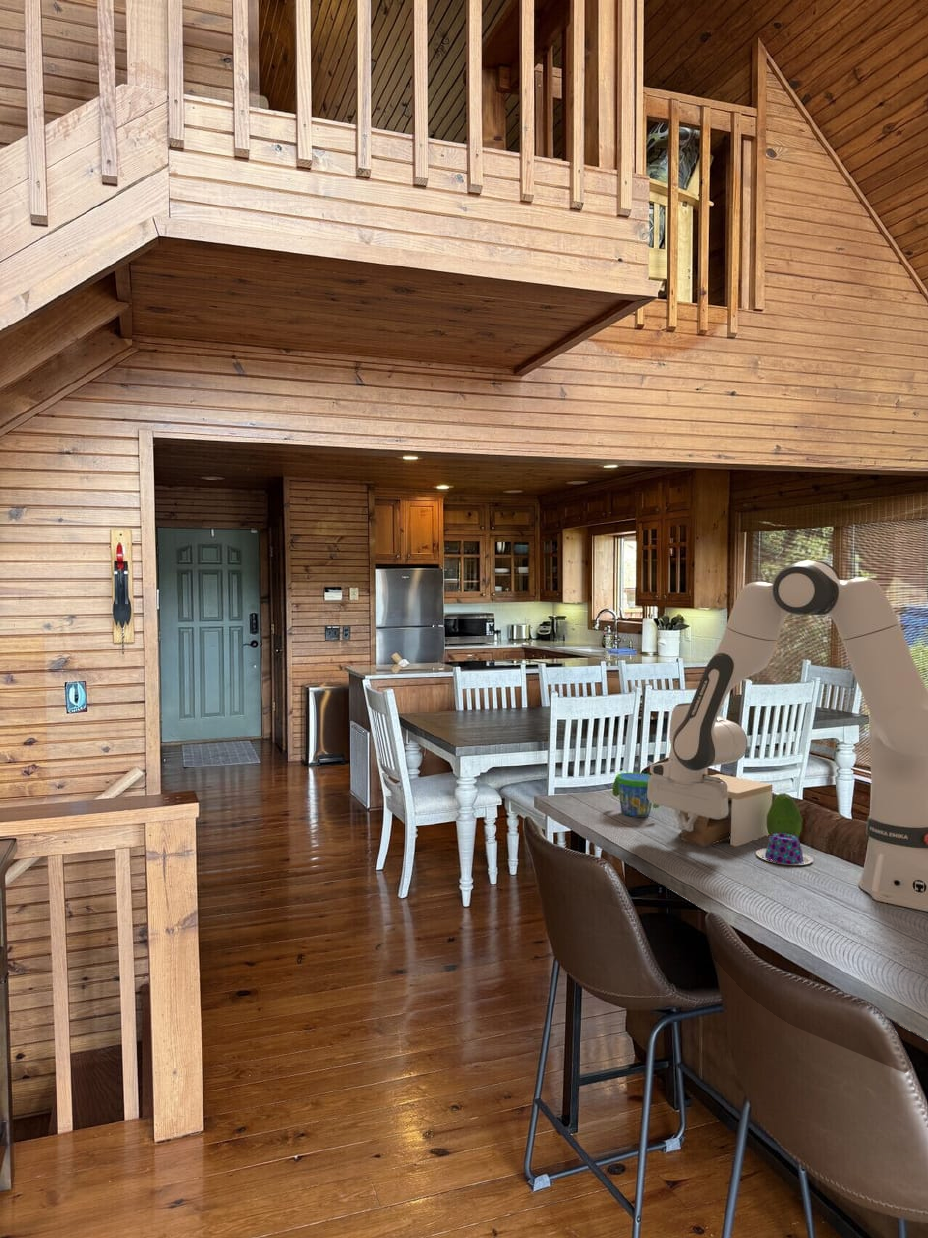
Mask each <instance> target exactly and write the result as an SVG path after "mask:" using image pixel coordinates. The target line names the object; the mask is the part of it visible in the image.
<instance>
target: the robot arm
mask: <svg viewBox="0 0 928 1238" xmlns="http://www.w3.org/2000/svg"><path fill="white" fill-rule="evenodd" d="M790 615H795V616H801V617H802V616H826V615H827V616H829V617H830V618H831V619H832V621H833V623H834V624H835V627H836V630H837V632H838V634H839V637H840V640H841V643H842V646H843V648H844V651H845V654H846V657H847V659H848V660H847V661H848V662H849V665H850V667H851V668H850V669H851V670H852V673H853V675H854V678H855V680H856V683H857V685H858V687H859V689H860V691H861V695H862V696H863V698H864V699H863V700H865V703H866V704H865V705H866V706H867V708H868V711H869V725H868V727H869V729H868V730H869V731H868V732H869V757H870V760H869V762H870V763H869V764H870V804H869V805H870V806H869V815H868V816H867V823H866V829H865V831H866V835H865V836H866V843H867V849H866V854H865V855H866V856H865V861H864V865H863V869H862V871H861V872H862V873H861V876H860V879H859V881H858V887H859V888H860V889H862V890H863V891H864V892H867V893H868V894H869V895H870V896H871V897H872V899H873V900H875V901H878V902H881V903H882V902H883V903H886V904H887V903H888V904H891V905H895V906H900V907H905V908H909V909H914V910H919V911H923V912H927V913H928V688H927V687H926V685H925V682H924V680H923V678H922V676H921V674H920V672H919V670H918V668H917V665H916V664H915V661H914V659H913V657H912V653H911V651H910V649H909V646H908V644H907V641H906V638H905V635H904V633H903V629H902V627H901V625H900V622H899V619H898V617H897V615H896V612H895V610H894V608H893V606H892V604H891V602H890V600H889V599H888V597H887V595H886V594H885V592H884V590H883V588H882V586H881V585H880V584H879V583H878V582H877V581H876V580H874V579H872V578H869V577H855V578H851V579H847V580H842V579H841V578H840V575H839V573H838V571H837V570H836V569H835V568H834V567H833V566H832V565H830V564H828V563H826V562H824V561H821V560H807V559H806V560H801V561H797V562H794V563H791V564H789V565H787V566H785V567H784V568H782V569H781V570H780V571H779V572H778V574H777V575H776V577H775V578H774V581H773V583H769V582H764V581H755V582H754V581H753V582H750V583H747V584H745V585H744V586H743V587H742V588H741V589H740V592H739V594H738V595H737V597H736V599H735V602H734V604H733V607H732V609H731V611H730V613H729V617H728V620H727V623H726V626H725V629H724V632H723V635H722V639H721V641H720V643H719V645H718V647H717V649H716V651H715V653H714V655H713V656H712V657H711V658H710V660H709V662H708V663H707V664H706V667H705V669H704V670H703V674H702V676H701V677H700V680H699V683H698V685H697V688H696V691H695V693H694V695H693V698H692V701H691V702H686V703H685V702H684V703H678V704H676V705H675V706H674V707H673V709H672V711H671V715H670V720H669V737H668V738H669V739H668V740H669V743H670V750H669V754H668V760H667V761H663V762H659V763H654V764H651V765H650V766H649V773H650V775H651V776H650V777H649V780H648V789H647V798H648V800H649V802H650V803H652V804H657V805H660V806H661V807H665V808H670V809H674V815H675V818H676V820H677V821H678V827H677V828H678V830H681V829H682V830H685V831H689V832H690V831H693V824H694V822H695V821H696V819H697V818H698V815H701V816H705V817H709V818H713V819H717V820H719V819H723V818H725V817H726V816H727V815H728V798H727V784H726V783H725V782H724V781H723V780H722V778H719V777H713V776H711V775H708V768H709V767H715V766H720V765H721V766H722V765H725V764H730V763H731V764H732V763H735V762H736V761H737V762H738V761H740V760H741V759H743V757H744V756H745V754H746V752H747V747H748V739H747V735H746V732H745V731H744V729H743V728H742V726H741V725H740V724H739V723H736V722H735V721H731V720H728V719H727V718H724V717H722V716H720V713H721V710H722V708H723V705H724V703H725V700H726V698H727V696H728V694H729V693H730V691H731V690H733V689H734V687H736V686H737V685H738V684H739V683H741V682H742V681H745V680H746V679H748V678H750V677H751V676H753V675H755V674H758V673H759V672H762V671H763V670H764V669H765V668H766V667H767V666H768V665H769V663H770V662H771V660H772V659H773V656H774V655H775V652H776V649H777V645H778V643H779V639H780V635H781V632H782V628H783V625H784V623H785V621H786V619H787V618H788V617H789V616H790ZM721 782H723V783H721ZM685 812H688V817H690V819H689V820H688V822H687V821H685V818H684V816H683V813H685Z"/></svg>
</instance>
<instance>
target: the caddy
mask: <svg viewBox="0 0 928 1238" xmlns="http://www.w3.org/2000/svg"><path fill="white" fill-rule="evenodd" d="M731 808H732V801H728V815H727V816H726V817H725V818H723V819H719V820H717V819H713V818H709V817H705V816H701V815H698V818H697V819H696V821H695V822H694V824H693V831H690V832H689V831H685V830H682V832H681V841H682V840H684V841H683V842H685V841H687V842H686V843H689V842H690V844H693V845H696V844H697V846H700V847H707V846H709V844H710V845H713V844H715V842H716V843H718V842H717V841H719V842H721V841H720V840H722V841H724V840H723V839H725V840H727V839H726V838H729V837H731ZM683 816H684V818H685V821H687V822H688V820H689V819H690V817H688V812H685V813H683ZM729 839H730V838H729ZM712 843H713V844H712ZM706 845H707V846H706Z"/></svg>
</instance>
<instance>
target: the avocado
mask: <svg viewBox="0 0 928 1238" xmlns="http://www.w3.org/2000/svg"><path fill="white" fill-rule="evenodd" d="M766 825H767V830H768V833H769V836H770V837H771V835H773V834H777V833H780V834H788V835H793V836H795V837H797V838H798V837H799V836H800V834H801V831H802V829H803V818H802V815H801V812H800V809H799V807H798V805H797V803H796V802H795V799H794V798H793V797H792V796H791V795H789V794H787V793H785V792H784V793H779V794H777V795H775V797H774V798H773V799H772V805H771V807H770V810H769V812H768V814H767V822H766Z"/></svg>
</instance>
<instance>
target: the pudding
mask: <svg viewBox="0 0 928 1238" xmlns="http://www.w3.org/2000/svg"><path fill="white" fill-rule="evenodd" d="M755 855H756V856H757V857H758V858H760V859H761V860H765V861H767V862H771V863H774V864H779V865H783V864H784V865H785V866H787V865H788V866H804V865H809V864H811V863H813V861H814V859H813V857H812V856H810V855H808V854H806V853H804V852H803V851H802V846H801V842H800V840H799V838H798V837H795V836H793V835H788V834H780V833H777V834H773V835H771V836H770V837H769V840H768V843H767V847H766V848H762V849H758V850H757V851H755ZM761 855H764V856H765V855H766V856H765V858H767V859H768V860H766V859H765V858H762V856H761ZM803 857H806V858H807V859H808V860H809V861H808V862H806V863H804V864H801V862H802V863H803V862H804V861H803V860H804V859H803ZM769 859H772V860H773V862H772V860H770V861H769ZM774 861H775V862H774ZM776 862H777V863H776ZM785 863H786V864H785ZM793 863H794V864H793ZM795 863H800V864H795Z"/></svg>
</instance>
